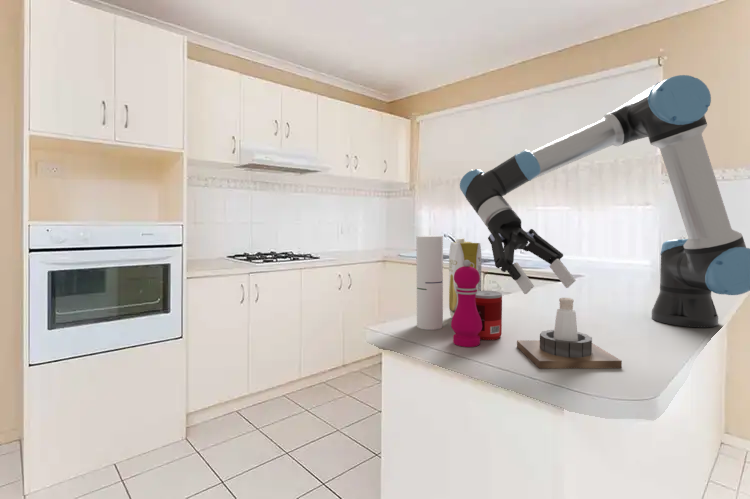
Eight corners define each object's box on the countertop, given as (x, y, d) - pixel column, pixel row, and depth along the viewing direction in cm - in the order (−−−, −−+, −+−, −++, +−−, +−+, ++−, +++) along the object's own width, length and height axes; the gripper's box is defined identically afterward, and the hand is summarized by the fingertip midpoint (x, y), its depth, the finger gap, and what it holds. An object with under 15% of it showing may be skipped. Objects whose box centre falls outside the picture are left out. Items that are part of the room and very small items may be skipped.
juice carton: (447, 316, 127) (447, 237, 125) (472, 315, 128) (472, 237, 126) (456, 324, 117) (456, 239, 116) (483, 323, 118) (484, 238, 117)
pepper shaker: (547, 350, 89) (548, 299, 88) (556, 344, 93) (557, 295, 92) (575, 355, 85) (576, 302, 85) (582, 349, 90) (583, 298, 89)
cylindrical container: (442, 330, 112) (442, 236, 110) (415, 329, 113) (415, 236, 111) (443, 323, 119) (443, 235, 117) (418, 322, 120) (417, 235, 118)
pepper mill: (447, 339, 103) (447, 258, 101) (476, 338, 104) (476, 258, 102) (455, 348, 96) (456, 261, 94) (486, 347, 96) (487, 260, 95)
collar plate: (587, 346, 96) (587, 327, 96) (621, 368, 82) (622, 345, 82) (516, 346, 96) (517, 327, 96) (539, 368, 82) (539, 346, 82)
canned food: (503, 333, 108) (504, 291, 107) (498, 342, 100) (499, 296, 99) (473, 330, 111) (473, 289, 110) (467, 338, 103) (467, 294, 103)
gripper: (526, 228, 112) (576, 291, 100) (453, 230, 100) (500, 303, 88) (543, 207, 107) (597, 271, 95) (468, 207, 95) (520, 281, 83)
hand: (551, 287), depth 91 cm, fingers open, 13 cm apart
